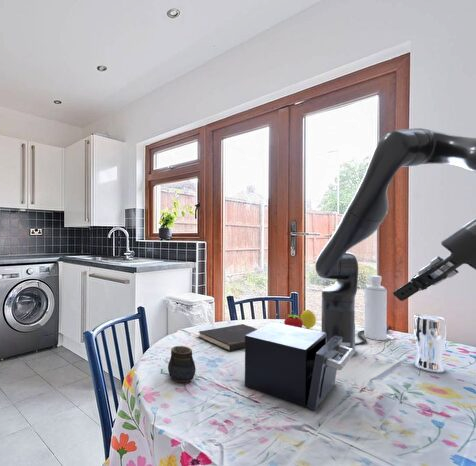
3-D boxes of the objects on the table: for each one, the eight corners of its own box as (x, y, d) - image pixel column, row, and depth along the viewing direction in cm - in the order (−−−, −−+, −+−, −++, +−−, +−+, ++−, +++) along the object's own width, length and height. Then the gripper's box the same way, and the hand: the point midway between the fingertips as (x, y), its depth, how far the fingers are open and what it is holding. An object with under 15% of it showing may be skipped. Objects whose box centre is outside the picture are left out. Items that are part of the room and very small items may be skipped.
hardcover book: (198, 337, 118) (198, 331, 118) (242, 329, 129) (242, 324, 129) (229, 351, 104) (230, 344, 104) (277, 341, 114) (277, 335, 114)
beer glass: (406, 363, 96) (406, 314, 96) (427, 363, 96) (427, 313, 96) (430, 373, 89) (430, 320, 89) (453, 373, 89) (453, 320, 89)
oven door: (349, 390, 80) (357, 342, 79) (331, 419, 67) (341, 362, 66) (327, 381, 83) (335, 335, 82) (306, 407, 70) (315, 353, 69)
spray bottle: (368, 339, 118) (369, 272, 118) (361, 333, 124) (361, 270, 124) (390, 341, 116) (390, 273, 116) (381, 335, 122) (381, 271, 122)
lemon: (318, 331, 127) (318, 311, 127) (303, 330, 128) (303, 310, 128) (312, 327, 133) (312, 308, 133) (298, 326, 134) (298, 307, 134)
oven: (326, 381, 83) (326, 332, 83) (305, 408, 71) (305, 350, 71) (271, 365, 93) (271, 321, 93) (244, 386, 80) (245, 335, 81)
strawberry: (306, 337, 120) (306, 311, 120) (295, 340, 115) (295, 313, 116) (291, 333, 125) (291, 307, 125) (280, 336, 120) (280, 310, 120)
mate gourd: (197, 375, 86) (197, 339, 86) (193, 388, 79) (193, 348, 79) (170, 371, 89) (171, 336, 89) (165, 383, 82) (165, 345, 82)
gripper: (462, 226, 64) (384, 280, 73) (465, 225, 55) (376, 286, 64) (502, 253, 61) (415, 306, 69) (513, 257, 51) (411, 317, 60)
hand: (397, 296), depth 66 cm, fingers closed
